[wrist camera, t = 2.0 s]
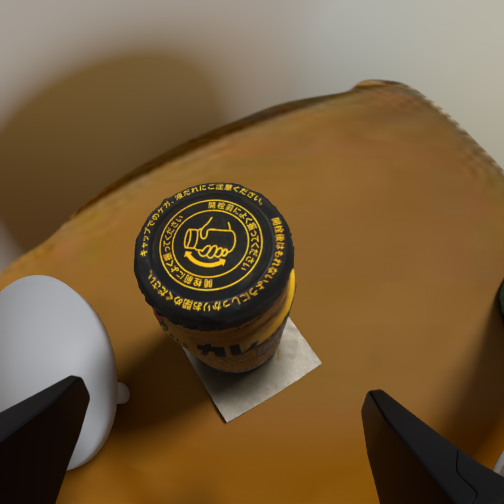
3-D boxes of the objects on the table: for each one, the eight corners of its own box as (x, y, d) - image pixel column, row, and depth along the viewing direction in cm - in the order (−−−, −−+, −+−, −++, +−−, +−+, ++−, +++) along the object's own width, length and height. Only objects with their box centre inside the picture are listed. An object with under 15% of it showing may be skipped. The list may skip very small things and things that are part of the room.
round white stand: (62, 490, 13) (28, 500, 9) (-9, 357, 17) (-41, 345, 14) (176, 400, 17) (153, 400, 13) (78, 265, 22) (50, 239, 18)
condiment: (253, 267, 22) (247, 138, 11) (321, 363, 18) (401, 314, 8) (166, 317, 20) (78, 225, 9) (227, 422, 16) (179, 459, 6)
